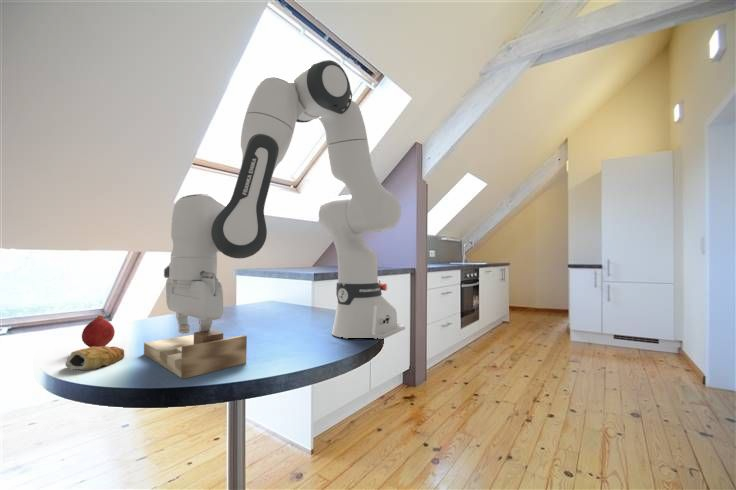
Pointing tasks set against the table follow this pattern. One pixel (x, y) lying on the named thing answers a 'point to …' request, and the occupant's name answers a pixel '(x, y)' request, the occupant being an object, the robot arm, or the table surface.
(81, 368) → the pastry
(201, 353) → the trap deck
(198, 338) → the walnut block
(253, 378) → the table surface
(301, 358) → the table surface
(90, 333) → the onion
